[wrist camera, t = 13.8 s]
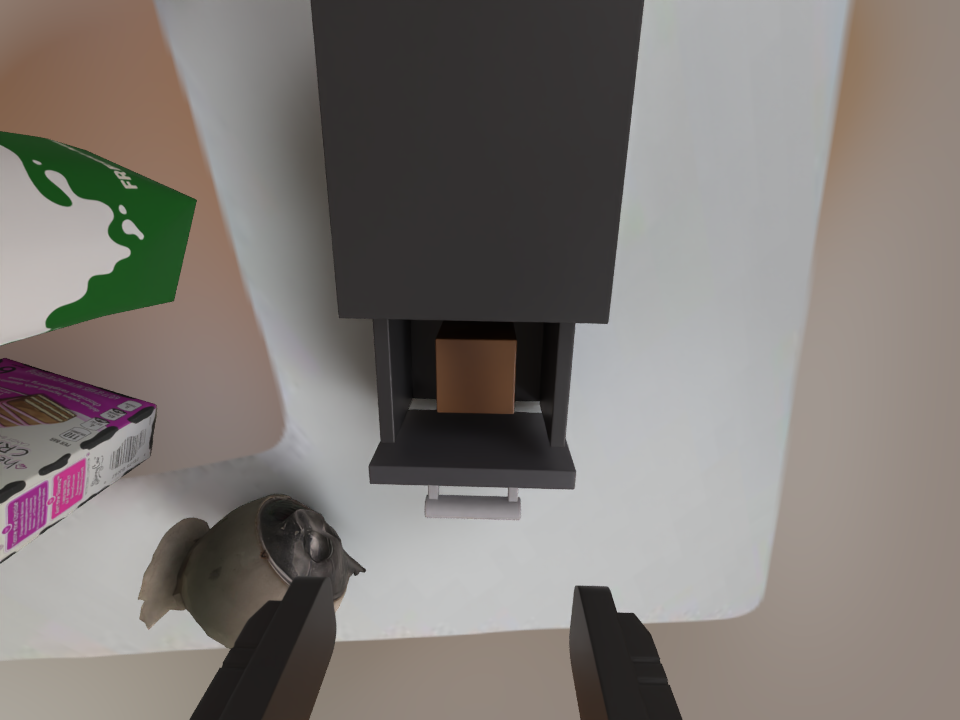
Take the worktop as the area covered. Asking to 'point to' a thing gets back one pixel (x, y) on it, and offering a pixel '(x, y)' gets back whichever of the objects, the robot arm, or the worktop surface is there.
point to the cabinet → (476, 154)
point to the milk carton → (82, 237)
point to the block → (476, 367)
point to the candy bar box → (61, 447)
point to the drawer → (472, 422)
